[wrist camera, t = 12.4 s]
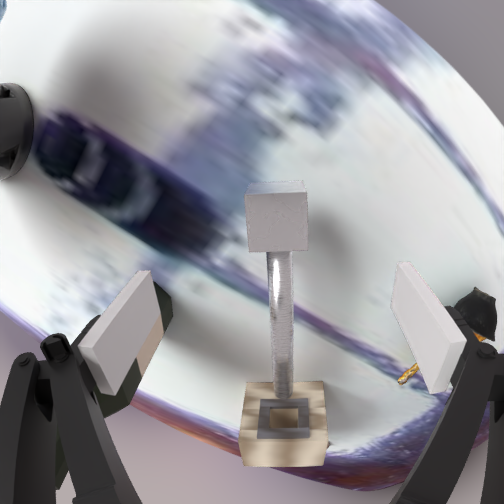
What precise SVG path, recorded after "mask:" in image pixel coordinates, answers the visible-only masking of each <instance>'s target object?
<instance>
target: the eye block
mask: <svg viewBox="0 0 504 504" xmlns="http://www.w3.org/2000/svg"><path fill="white" fill-rule="evenodd" d="M238 443H239V447H240V452H241V456H242V460H243V465H244V466H257V467H259V466H260V467H300V466H321V465H323V463H324V458H325V454H326V449H327V444H328V430H327V419H326V408H325V398H324V388H323V381H313V382H293V394H292V396H291V397H290V398H287V399H279V398H277V397H276V396H275V395H274V383H252V382H247V384H246V391H245V398H244V404H243V411H242V418H241V425H240V432H239V438H238Z"/></svg>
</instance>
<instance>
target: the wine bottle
mask: <svg viewBox="0 0 504 504" xmlns="http://www.w3.org/2000/svg"><path fill="white" fill-rule="evenodd" d="M153 284H154V288H155V292H156V296H157V300H158V304H159V308H160V312H161V313H160V315H159V317H158V318H157V320H156V322H155V324H154V325H153V327H152V329H151V331H150V333H149V334H148V336H147V338H146V340H145V342H144V343H143V345H142V347H141V349H140V351H139V352H138V354H137V356H136V358H135V360H134V362H133V363H132V365H131V367H130V369H129V371H128V373H127V375H126V376H125V378H124V380H123V382H122V384H121V386H120V388H119V390H118V392H117V394H116V395H115V396H114V395H109V394H103V393H101V392H100V390H99V388H98V386H97V384H96V385H95V387H94V389H93V391H94V393H95V395H96V398H97V401H98V404H99V406H100V409H101V412H102V415H103V418H106V417H108V416H110V415H112V414H114V413H116V412H118V411H120V410H121V409H123V408H125V407H126V406H128V405H129V404H130V402H131V400H132V398H133V396H134V394H135V392H136V390H137V388H138V385H139V383H140V381H141V379H142V377H143V375H144V373H145V371H146V369H147V367H148V365H149V363H150V361H151V359H152V357H153V355H154V353H155V351H156V349H157V347H158V345H159V343H160V341H161V339H162V337H163V335H164V333H165V331H166V329H167V327H168V325H169V323H170V321H171V319H172V317H173V312H172V304H171V297H170V296H169V295H168V294H167V293H166V292H165V291H164V290H163V289H162V288H160V287H159V286H158V285H157V284H156V283H155V282H154V281H153ZM68 470H69V469H68V466H67V462H66V459H65V455H64V451H63V447H62V443H61V438H60V434H59V429H58V425H57V433H56V456H55V490H59V489H60V487H61V485H62V483H63V481H64V479H65V477H66V474H67V472H68Z"/></svg>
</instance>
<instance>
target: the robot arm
mask: <svg viewBox="0 0 504 504" xmlns="http://www.w3.org/2000/svg"><path fill="white" fill-rule="evenodd" d="M6 8H7V2H6V0H0V22H1V20H2V18H3V16H4V14H5V11H6ZM32 137H33V113H32V107H31V104H30V101H29V98H28V96H27V94H26V93H25V91H24V90H23V89H22V88H21V87H20V86H18V85H16V84H13V83H2V84H0V180H3V179H5V178H8V177H11V176H13V175H14V174H16V173H17V172H18V171H19V170H20V169H21V167H22V166H23V164H24V163H25V161H26V159H27V156H28V154H29V151H30V147H31V143H32ZM391 309H392V311H393V313H394V315H395V317H396V319H397V321H398V323H399V325H400V327H401V329H402V332H403V334H404V336H405V338H406V340H407V342H408V344H409V347H410V349H411V351H412V353H413V355H414V358H415V360H416V362H417V364H418V367H419V369H420V371H421V374H422V376H423V378H424V381H425V383H426V385H427V388H428V390H429V393H430V394H434V393H439V392H444V391H446V389H447V387H448V385H449V383H450V382H451V384H452V386H453V390H452V392H451V394H450V396H449V398H448V400H447V402H446V404H445V405H446V406H445V408H444V410H443V412H442V414H441V416H440V419H439V421H438V423H437V425H436V427H435V429H434V431H433V433H432V435H431V437H430V438H429V440H428V442H427V444H426V446H425V448H424V449H423V451H422V453H421V455H420V457H419V458H418V460H417V462H416V463H415V465H414V467H413V468H412V470H411V472H410V473H409V475H408V477H407V478H406V480H405V481H404V483H403V484H402V486H401V487H400V489H399V490H398V492H397V494H396V495H395V496H394V498H393V499H392V501H391V502H390V503H389V504H446V503H447V501H448V499H449V497H450V495H451V493H452V491H453V489H454V487H455V485H456V483H457V481H458V479H459V477H460V474H461V472H462V470H463V468H464V466H465V463H466V461H467V458H468V456H469V454H470V451H471V448H472V446H473V443H474V441H475V438H476V435H477V432H478V430H479V427H480V424H481V421H482V418H483V415H484V411H485V408H486V405H487V401H490V421H489V441H488V453H487V463H486V471H485V479H484V486H483V491H482V497H481V503H480V504H504V354H498V352H497V350H496V349H495V348H494V347H493V346H492V345H490V344H488V343H484V342H480V341H479V340H478V338H477V337H476V335H475V334H474V332H473V331H472V330H471V328H470V327H469V325H467V323H466V321H465V320H463V317H462V316H461V314H460V313H459V312H458V311H457V310H455V309H454V308H453V307H451V306H446V307H444V306H443V305H442V303H441V302H440V301H439V299H438V298H437V296H436V295H435V294H434V292H433V291H432V290H431V288H430V287H429V286H428V284H427V283H426V282H425V280H424V279H423V278H422V276H421V275H420V274H419V273H418V271H417V270H416V269H415V267H414V266H413V265H412V264H411V262H397V268H396V275H395V282H394V289H393V295H392V301H391ZM160 313H161V312H160V308H159V304H158V300H157V296H156V292H155V288H154V284H153V280H152V275H151V271H137V273H136V274H135V275H134V276H133V277H132V279H131V280H130V281H129V282H128V283H127V284H126V286H125V287H124V288H123V289H122V290H121V292H120V293H119V294H118V295H117V297H116V298H115V299H114V300H113V301H112V303H111V304H110V305H109V306H108V308H107V309H106V310H105V311H104V313H103V314H102V315H98V316H96V317H95V318H93V319H92V320H90V322H89V323H88V324H87V325H86V327H85V328H84V329H83V330H82V332H81V333H80V334H79V335H78V337H77V338H76V339H75V340H74V342H73V343H72V344H71V346H70V344H69V342H68V340H67V338H66V336H65V335H64V334H61V333H57V334H52V335H50V336H48V337H47V338H45V339H44V340H43V341H42V343H41V345H40V348H41V350H42V352H43V354H44V356H45V357H46V360H43V361H38V360H37V358H36V356H35V355H34V354H33V353H31V352H30V353H29V352H27V353H23V354H21V355H19V356H18V357H17V358H16V359H15V360H14V362H13V365H12V368H11V371H10V374H9V377H8V380H7V384H6V388H5V390H4V394H3V398H2V401H1V405H0V504H56V493H55V492H56V490H55V456H56V433H57V425H58V429H59V434H60V438H61V443H62V447H63V451H64V455H65V459H66V462H67V466H68V469H69V473H70V476H71V479H72V483H73V486H74V489H75V492H76V497H75V498H73V500H72V502H73V504H142V502H141V500H140V498H139V496H138V495H137V493H136V491H135V489H134V487H133V485H132V483H131V481H130V479H129V477H128V475H127V473H126V470H125V468H124V466H123V464H122V462H121V459H120V457H119V455H118V453H117V450H116V448H115V446H114V443H113V441H112V438H111V436H110V433H109V431H108V428H107V426H106V423H105V420H104V418H103V415H102V412H101V409H100V406H99V404H98V401H97V398H96V395H95V393H94V391H93V389H94V387H95V385H96V384H97V386H98V388H99V390H100V392H101V393H103V394H109V395H114V396H115V395H116V394H117V392H118V390H119V388H120V386H121V384H122V382H123V380H124V378H125V376H126V375H127V373H128V371H129V369H130V367H131V365H132V363H133V362H134V360H135V358H136V356H137V354H138V352H139V351H140V349H141V347H142V345H143V343H144V342H145V340H146V338H147V336H148V334H149V333H150V331H151V329H152V327H153V325H154V324H155V322H156V320H157V318H158V317H159V315H160Z"/></svg>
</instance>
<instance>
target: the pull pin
mask: <svg viewBox="0 0 504 504" xmlns="http://www.w3.org/2000/svg"><path fill="white" fill-rule="evenodd" d="M244 200H245V212H246V223H247V235H248V247H249V252H266V254H267V270H268V287H269V304H270V322H271V340H272V360H273V380H274V395H275V396H276V397H277V398H279V399H287V398H290V397H291V396H292V394H293V262H292V251H304V250H308V209H307V191H306V188H305V185H304V182H303V181H278V182H257V183H250V184H249V186H248V188H247V190H246V192H245V194H244Z"/></svg>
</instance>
